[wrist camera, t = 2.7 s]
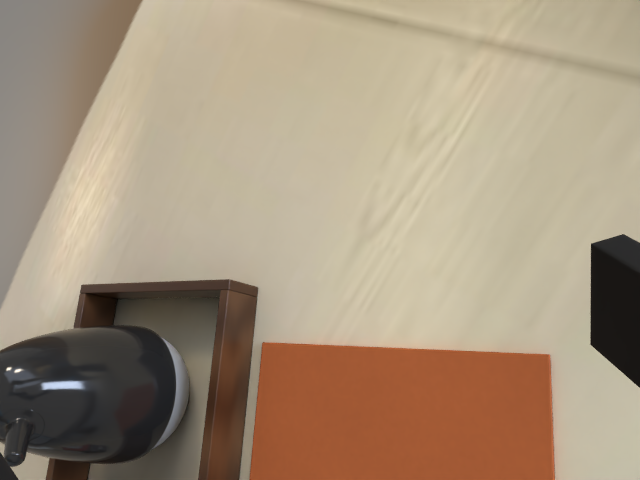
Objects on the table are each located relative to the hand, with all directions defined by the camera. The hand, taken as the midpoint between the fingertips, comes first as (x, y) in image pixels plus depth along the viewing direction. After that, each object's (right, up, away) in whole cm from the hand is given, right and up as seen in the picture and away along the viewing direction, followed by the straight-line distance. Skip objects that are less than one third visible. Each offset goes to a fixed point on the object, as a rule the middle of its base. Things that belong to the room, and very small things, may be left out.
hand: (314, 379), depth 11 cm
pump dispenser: (-13, -10, +33) cm, 36 cm away
